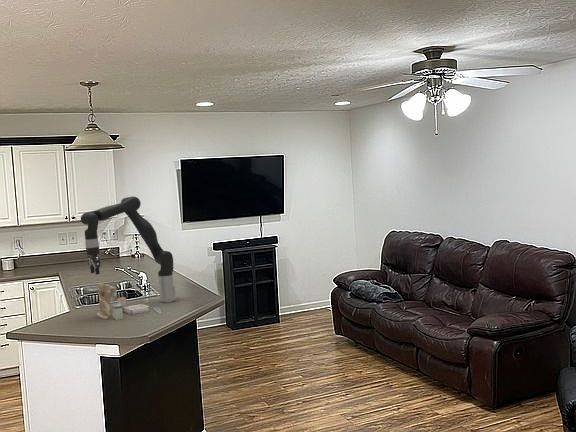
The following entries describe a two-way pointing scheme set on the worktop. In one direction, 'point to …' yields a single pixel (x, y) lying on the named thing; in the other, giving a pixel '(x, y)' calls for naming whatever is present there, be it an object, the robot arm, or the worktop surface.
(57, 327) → the worktop surface
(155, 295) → the worktop surface
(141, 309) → the tray
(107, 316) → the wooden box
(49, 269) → the worktop surface
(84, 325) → the worktop surface
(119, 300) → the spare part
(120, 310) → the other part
